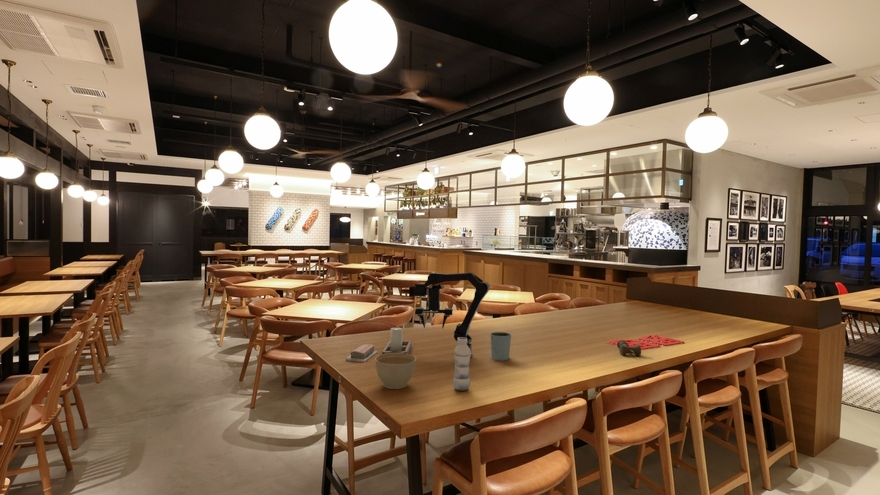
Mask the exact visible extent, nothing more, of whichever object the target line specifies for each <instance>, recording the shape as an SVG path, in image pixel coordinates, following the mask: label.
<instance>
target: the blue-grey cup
mask: <svg viewBox="0 0 880 495" xmlns="http://www.w3.org/2000/svg"><path fill="white" fill-rule="evenodd" d="M511 340H512V334H511V333H509V332H504V331H495V332H493V331H492V332H490V346H491V348H490V350H491V359H492V360H495V361H503V362H504V361H508V360H509V359H510V352H511V351H510V349H511Z"/></svg>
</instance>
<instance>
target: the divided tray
mask: <svg viewBox="0 0 880 495" xmlns="http://www.w3.org/2000/svg"><path fill="white" fill-rule="evenodd" d="M412 343H413V342H412V340H402V352H392V351H390V339H389V341H388V342H387V343H386V345H385V346H384V349H383V350H382V352H381V355H383V354H390V353H402V354H409V353H410V351H411V349H412V345H413V344H412ZM409 355H410V354H409Z"/></svg>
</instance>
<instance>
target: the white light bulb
mask: <svg viewBox="0 0 880 495" xmlns="http://www.w3.org/2000/svg"><path fill="white" fill-rule="evenodd" d="M403 332H404V329H403V327H391V328H390V339H389V340H390V351H392V352H402V341H403V340H404V339H403V338H404V336H403V335H404V333H403Z"/></svg>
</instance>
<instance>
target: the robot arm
mask: <svg viewBox="0 0 880 495" xmlns="http://www.w3.org/2000/svg"><path fill="white" fill-rule="evenodd" d="M458 281H461V282H462V281H468V282H469V283H470V284H471V286H472V287H474V288H475V290H474V297H473V299H472V302H471V303H470V305H469V308H468V309H467V312H466V314H465V316H464V318H463V320H462V322H461V323H458V324H456V327H455V330H454V331H453V338H454V340H455V341H456V342H457V341H458V338H459V337H465V338H467V342H468V343H467V345H468V347H469V348H470V351H471V352H472V344H473V343H471V342H473V338H472V337H471V336H470V335H469V331H470V328H471V323H472V321H473V320H474V317H475V316H476V313H477V311H478V309H479V307H480V304H481V303H482V301H483V299H484V298H485V297H486V295H487V294H488V293H489V292H490V289H491V286H490V283H489V282H487V281H485V280H483V279H482V278H480V277H479V276H477V275H476V274H475V273H474V272H472V271H469V272H460V273H459V272H457V273H456V272H455V273H444V272H436V271H435V272H432V273H429V275H428V276H427V280H426V281H425V282H424V283H419V282H418V283H417V282H415V284H414V287H413V290H412V292H413V297H415V298H416V297H419V298H420V297H421V298H426V297H427V296H428V300H426V303H425V305H426V306H425V307H426V308H424V307H422V306H421V307H420V306H419V307H416V308H415V310H414V315H417V317H419V318H420V320H421V323H422V326H423V328H424V329H426V320H425V314H443V320H442V329H444V327H445V324H446V321H447V319H448V318H450V316H453V308H452V307H444V309H441V303H440V301H441V298H440V297H441V296H440V295H441V290H443V289H445V287H444V286H443V285H442V283H446V282H458ZM437 284H438V285H437ZM472 356H473V354H472V353H471V356H470V358H471V357H472Z"/></svg>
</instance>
